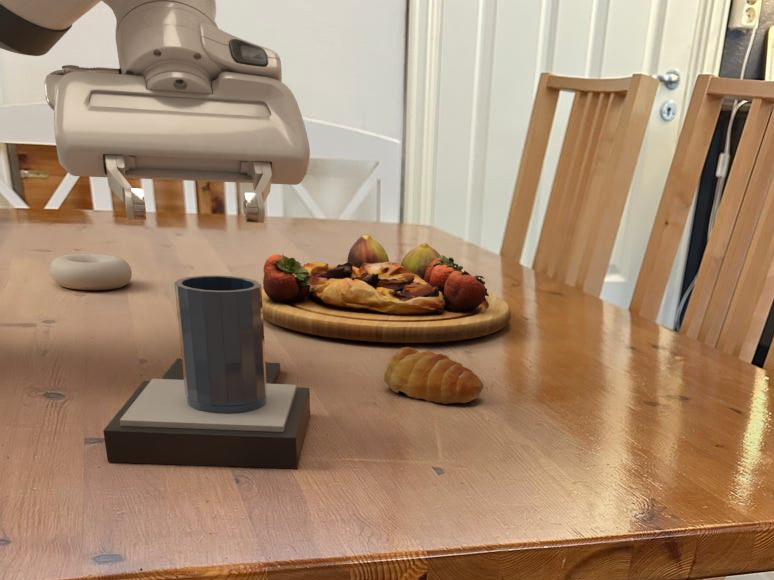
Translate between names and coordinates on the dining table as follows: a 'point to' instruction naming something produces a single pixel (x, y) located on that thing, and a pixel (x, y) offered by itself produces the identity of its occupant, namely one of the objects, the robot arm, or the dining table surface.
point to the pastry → (431, 377)
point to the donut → (90, 271)
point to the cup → (222, 343)
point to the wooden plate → (381, 297)
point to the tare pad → (177, 374)
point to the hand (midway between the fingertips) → (197, 216)
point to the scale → (208, 429)
